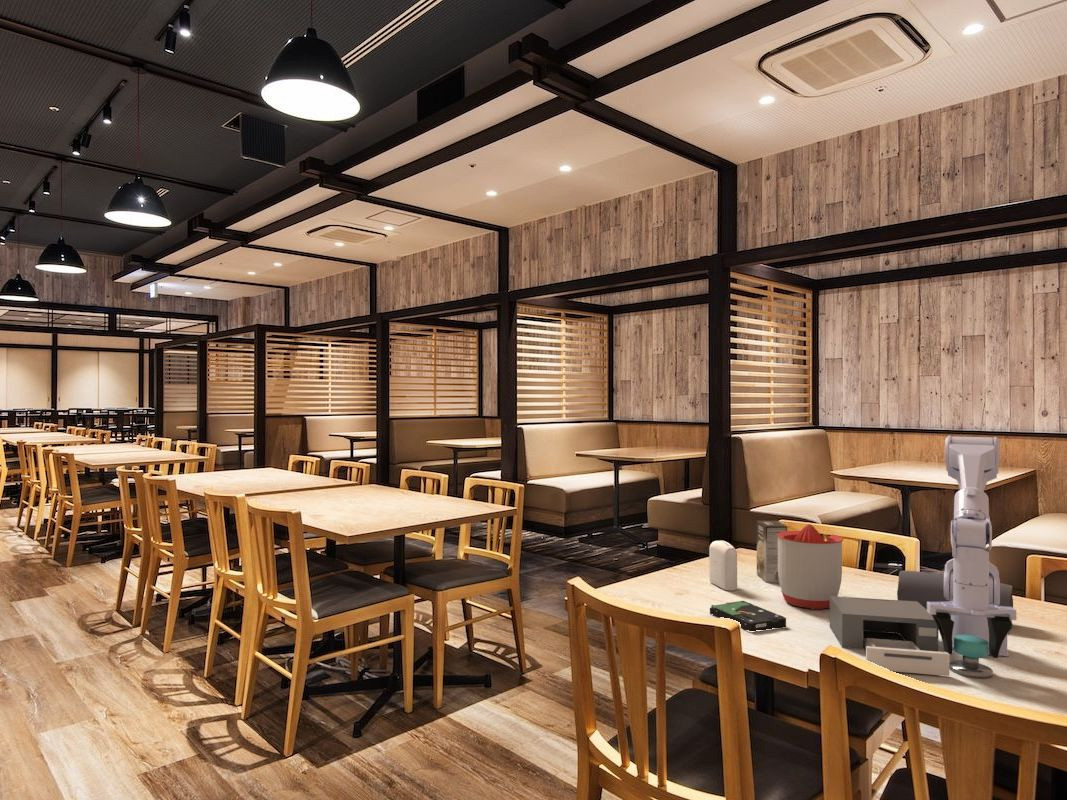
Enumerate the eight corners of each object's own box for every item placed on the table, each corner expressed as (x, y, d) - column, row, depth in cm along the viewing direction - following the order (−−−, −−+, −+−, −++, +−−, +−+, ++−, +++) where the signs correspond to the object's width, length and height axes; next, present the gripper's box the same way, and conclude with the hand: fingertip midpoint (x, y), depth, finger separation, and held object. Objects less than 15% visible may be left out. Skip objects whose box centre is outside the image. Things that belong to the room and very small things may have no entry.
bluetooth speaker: (896, 613, 167) (896, 572, 167) (903, 604, 175) (903, 565, 175) (1010, 633, 153) (1011, 587, 153) (1013, 622, 161) (1013, 579, 161)
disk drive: (787, 630, 156) (743, 610, 170) (787, 617, 156) (743, 599, 170) (750, 635, 152) (708, 615, 166) (751, 623, 152) (708, 604, 166)
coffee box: (755, 574, 204) (755, 520, 204) (777, 574, 204) (777, 520, 204) (765, 582, 195) (765, 525, 195) (788, 583, 195) (788, 525, 195)
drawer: (922, 647, 143) (922, 628, 143) (949, 676, 128) (949, 654, 128) (849, 642, 146) (849, 622, 146) (867, 669, 131) (867, 648, 131)
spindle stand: (983, 666, 134) (983, 648, 134) (999, 680, 127) (999, 661, 127) (943, 663, 135) (943, 645, 135) (956, 676, 128) (956, 657, 128)
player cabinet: (917, 633, 153) (917, 601, 153) (938, 655, 139) (938, 620, 139) (829, 627, 157) (829, 595, 157) (842, 647, 143) (842, 613, 143)
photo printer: (707, 582, 196) (707, 538, 196) (721, 581, 197) (721, 537, 197) (724, 591, 186) (725, 545, 186) (739, 590, 187) (739, 544, 187)
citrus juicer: (855, 602, 176) (855, 523, 176) (827, 616, 164) (827, 532, 164) (795, 590, 187) (796, 516, 188) (765, 603, 175) (765, 523, 175)
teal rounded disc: (981, 649, 133) (981, 636, 133) (993, 659, 128) (993, 645, 128) (949, 646, 134) (949, 633, 134) (959, 656, 129) (959, 643, 129)
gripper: (935, 585, 129) (935, 658, 129) (1024, 590, 125) (1024, 665, 125) (923, 576, 136) (923, 645, 136) (1007, 580, 132) (1006, 652, 132)
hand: (970, 654), depth 131 cm, fingers open, 7 cm apart
